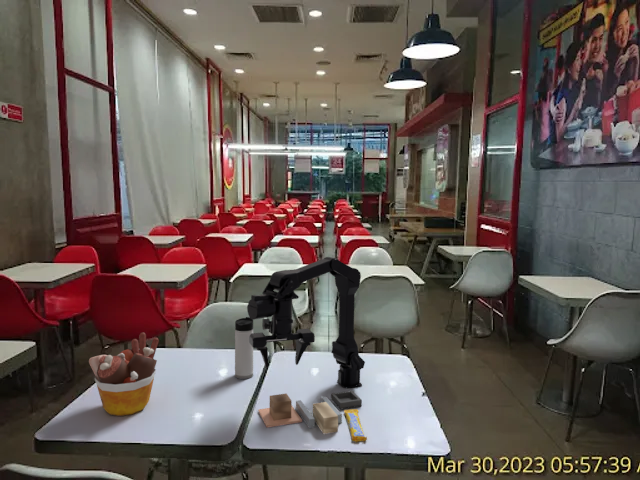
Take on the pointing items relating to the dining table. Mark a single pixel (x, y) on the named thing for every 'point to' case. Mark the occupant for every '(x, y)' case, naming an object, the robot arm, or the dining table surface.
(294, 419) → the tile
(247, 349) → the travel mug
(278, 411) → the block
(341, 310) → the robot arm
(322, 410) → the tan wooden bar
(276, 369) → the dining table surface
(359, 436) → the candy bar
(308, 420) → the channel
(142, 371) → the bucket of meat
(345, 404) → the tray
